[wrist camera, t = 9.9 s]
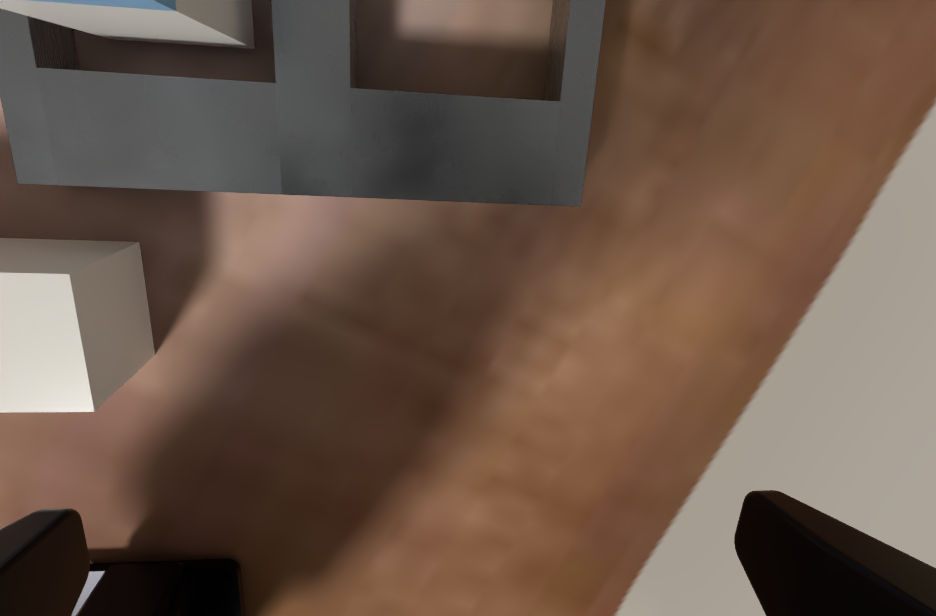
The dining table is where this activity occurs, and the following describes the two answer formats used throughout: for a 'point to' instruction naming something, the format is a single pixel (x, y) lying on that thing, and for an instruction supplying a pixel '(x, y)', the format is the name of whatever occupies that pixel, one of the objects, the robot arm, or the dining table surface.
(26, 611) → the robot arm
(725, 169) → the dining table surface
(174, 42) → the plug
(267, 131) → the panel
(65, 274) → the plug
